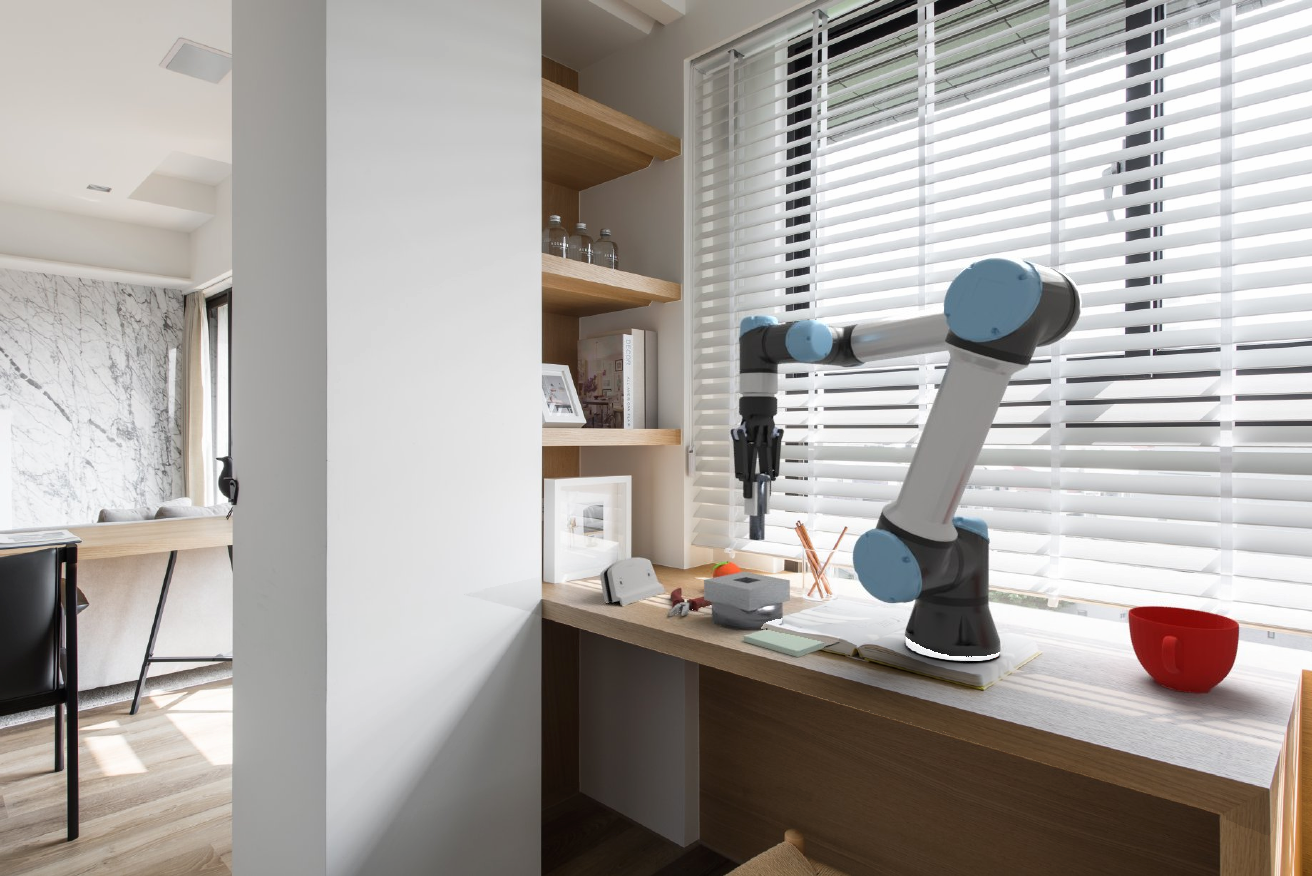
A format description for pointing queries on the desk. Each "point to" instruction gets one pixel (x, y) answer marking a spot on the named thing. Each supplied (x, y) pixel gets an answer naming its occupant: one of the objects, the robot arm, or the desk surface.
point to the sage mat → (784, 642)
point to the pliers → (686, 603)
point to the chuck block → (746, 599)
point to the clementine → (725, 569)
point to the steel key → (759, 509)
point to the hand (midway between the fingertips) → (757, 513)
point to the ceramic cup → (1184, 646)
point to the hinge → (630, 581)
